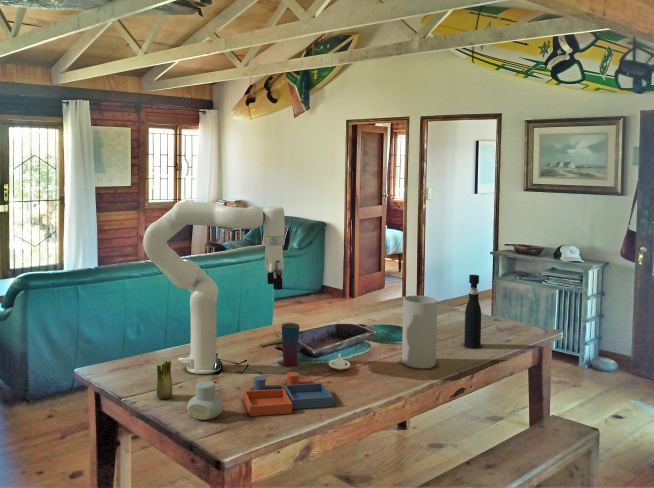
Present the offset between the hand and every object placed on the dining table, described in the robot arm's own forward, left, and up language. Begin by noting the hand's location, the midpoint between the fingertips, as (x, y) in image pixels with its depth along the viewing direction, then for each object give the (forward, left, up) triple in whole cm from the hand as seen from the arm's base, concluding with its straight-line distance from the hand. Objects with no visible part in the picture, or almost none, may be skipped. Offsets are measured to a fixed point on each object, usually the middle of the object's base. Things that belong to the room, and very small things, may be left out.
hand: (274, 286), depth 221 cm
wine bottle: (+88, +15, -31) cm, 95 cm away
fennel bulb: (-41, -20, -31) cm, 55 cm away
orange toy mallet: (+6, -16, -31) cm, 35 cm away
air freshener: (-29, -36, -31) cm, 56 cm away
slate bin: (+5, -29, -31) cm, 43 cm away
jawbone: (+5, +35, -31) cm, 47 cm away
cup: (+7, +5, -31) cm, 33 cm away
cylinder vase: (+56, -2, -31) cm, 64 cm away
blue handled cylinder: (-6, -18, -31) cm, 36 cm away
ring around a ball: (+24, -3, -31) cm, 40 cm away
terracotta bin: (-9, -32, -31) cm, 45 cm away
